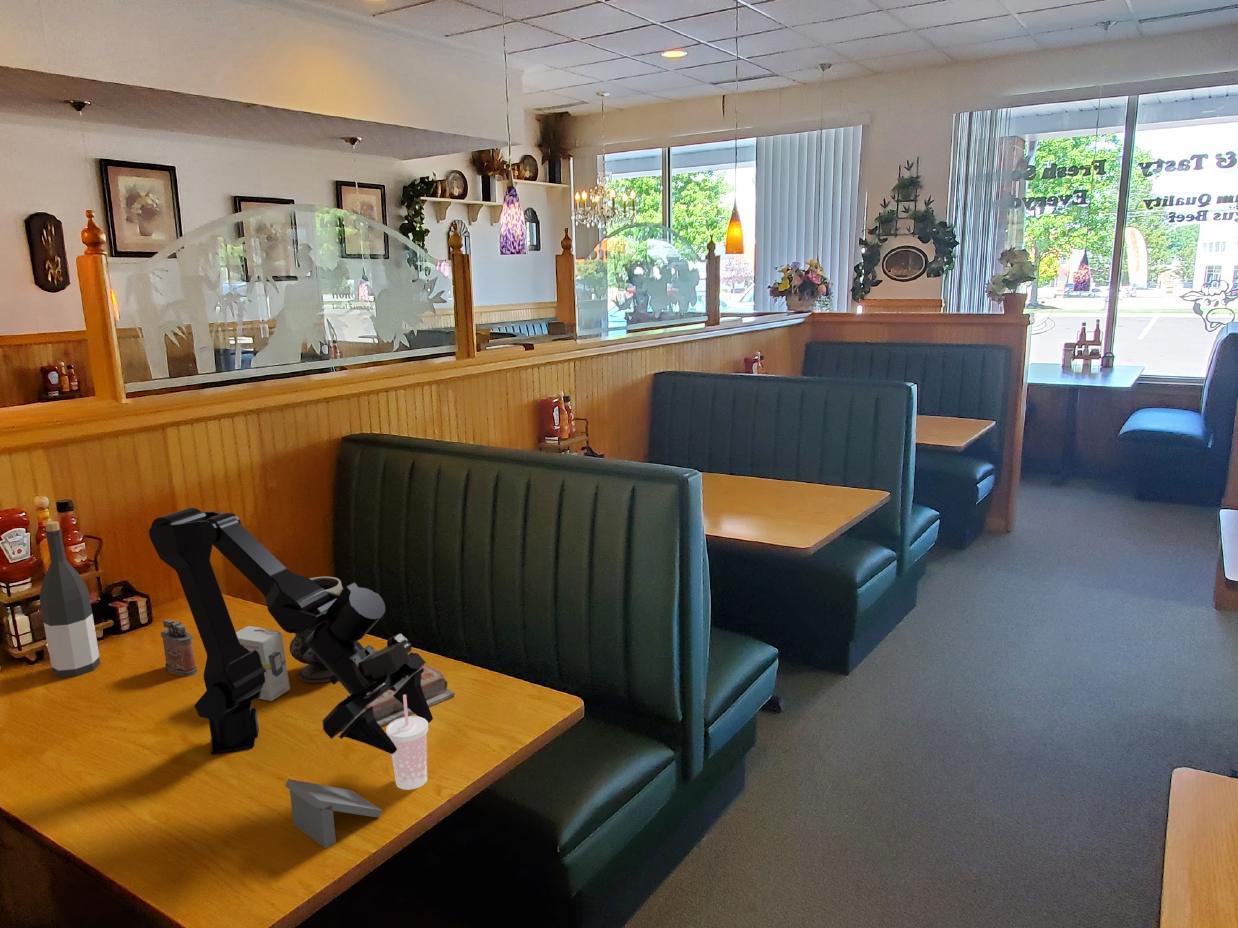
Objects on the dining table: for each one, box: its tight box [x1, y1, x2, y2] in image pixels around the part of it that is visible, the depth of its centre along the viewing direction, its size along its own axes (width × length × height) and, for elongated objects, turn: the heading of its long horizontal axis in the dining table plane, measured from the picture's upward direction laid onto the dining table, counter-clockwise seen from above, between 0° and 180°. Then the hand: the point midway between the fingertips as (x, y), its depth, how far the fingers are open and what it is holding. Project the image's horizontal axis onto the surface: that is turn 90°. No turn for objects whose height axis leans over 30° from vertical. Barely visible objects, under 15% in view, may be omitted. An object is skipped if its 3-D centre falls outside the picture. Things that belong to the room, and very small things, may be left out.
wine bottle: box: [39, 521, 101, 678], centre depth 167 cm, size 8×8×30 cm
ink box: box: [235, 625, 291, 702], centre depth 157 cm, size 9×5×12 cm, turn 68°
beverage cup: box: [385, 694, 429, 791], centre depth 128 cm, size 6×6×14 cm
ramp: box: [284, 778, 383, 849], centre depth 120 cm, size 10×8×7 cm
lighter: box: [160, 618, 198, 677], centre depth 168 cm, size 8×3×10 cm, turn 58°
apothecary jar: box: [289, 576, 344, 684], centre depth 165 cm, size 12×12×18 cm
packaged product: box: [346, 664, 456, 728], centre depth 152 cm, size 18×5×10 cm
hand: (413, 735), depth 128 cm, fingers open, 9 cm apart
